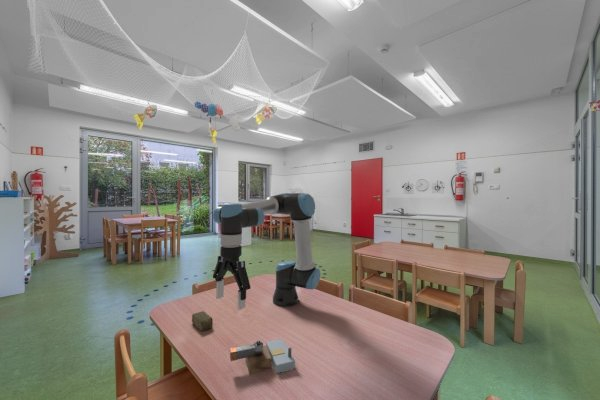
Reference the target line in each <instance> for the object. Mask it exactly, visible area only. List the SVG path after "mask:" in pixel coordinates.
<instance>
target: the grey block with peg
mask: <svg viewBox="0 0 600 400" xmlns="http://www.w3.org/2000/svg"><path fill="white" fill-rule="evenodd" d="M265 346H267V349H268V351H269V353H270V356H271V366H272V367H273V369H274V371H275V374H276V373H277V374H279V373H280V372H281V373H283V372H284V371H285V372H288V370H289V371H291V369H293V370H295V369H294V368H296V359H295V358H294V356H293V354H292V347H290V346H289V347H288V346H287V344H286V343H285V341H284V339H283V338H279V339H274V340H268V341H265Z"/></svg>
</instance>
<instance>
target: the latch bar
mask: <svg viewBox="0 0 600 400" xmlns="http://www.w3.org/2000/svg"><path fill="white" fill-rule="evenodd" d="M263 346H264V342H262V341H260V340H256V342H254V343H251V344H247V345H243V346H238V347H230V348H229V357H230V358H229V360H230V362H234V361H237V360H241V359H245V358H247V357H252V356H260V355H262V354H263Z"/></svg>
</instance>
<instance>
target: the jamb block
mask: <svg viewBox="0 0 600 400" xmlns="http://www.w3.org/2000/svg"><path fill="white" fill-rule="evenodd" d="M244 359H245V363H246V368H247V371H248V374H249V375H252V374H255V373H260V372H263V371H267V370H272V362H271V356H270V353H269V351H268V349H267V346H266V345H263V354H262V355H260V356H252V357H247V358H244Z"/></svg>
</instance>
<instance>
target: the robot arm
mask: <svg viewBox="0 0 600 400" xmlns="http://www.w3.org/2000/svg"><path fill="white" fill-rule="evenodd" d="M315 210H316V202H315V200H314V198H313V196H312V195H311V194H309V193H303V192H299V193H296V192H295V193H288V192H287V193H279V194H276V195H271V196H268V197H266V198H265V199H262V200H256V201H250V202H246V203H223V204H222V205H221V206H218V207H216V208H215V209H214V210H213V213H212V217H213V221H214V222H215V223H216V224H219V225H220V242H219V243H220V255H218V256H217V262H216V264H215V268H214V271H213V274H212V278H213V279H214V280H215V283H216V287H215V288H216V292H215V294H216V296H215V299H217V300H218V299H221V298H224V291H225V289H224V288H225V285H224V284H225V280H224V278H225V276H226V274H227V272H230V273H231V275H233V277H234V279H235V282H236V284H237V285H236V286H237V288H238V290H237V310H238V311H240V310H243V309H245V308H246V299H247V291H248V290H251V284H250V280H249V275H248V272H247V268H246V261H245V260H242V261H240V257H241V256H242V250H243V246H241V245H242V244H243V242H242V239H243V237H242V234H243V228H251V227H253V228H255V227H258V226H261V225H262V224H263V223H264V220H265V215H275V214H276V215H289V217H290V218H289V219H290V221H292V222H293V231H294V243H295V252H296V253H295V254H296V261H294V260H286V261H281V262H279V263H277V264H276V266H275V289H274V293H273V296H272V303H273V304H274V305H277V306H281V307H290V306H294V305H296V304H297V303H298V302H299V296H298V291H297V289H296V287H297V288H301V289H305V290H314V289H315V288H317V287H318V285H319V282H320V279H321V270H320V269H319V268H316V267H317V266H316V263H315V261H314V260H313V252H312V251H313V249H312V240H311V238H312V237H311V226H310V220H311V219H312V218H313V217H312V216H314V215H315V212H316V211H315Z"/></svg>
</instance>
